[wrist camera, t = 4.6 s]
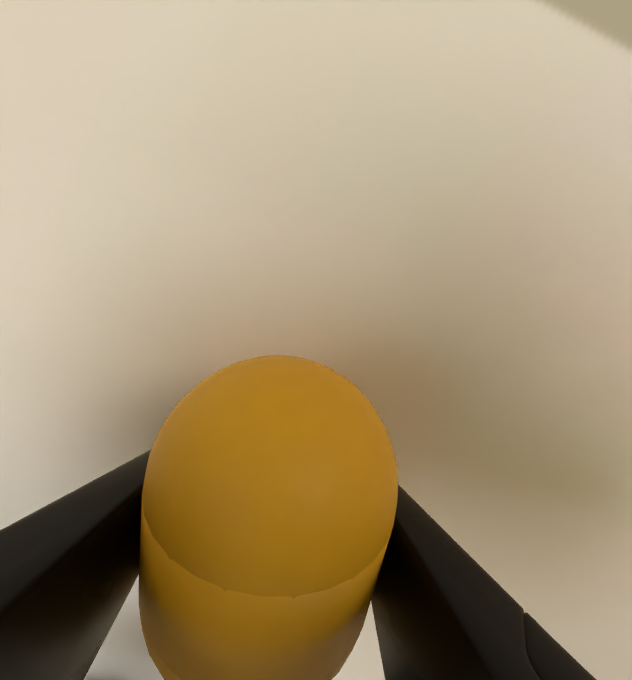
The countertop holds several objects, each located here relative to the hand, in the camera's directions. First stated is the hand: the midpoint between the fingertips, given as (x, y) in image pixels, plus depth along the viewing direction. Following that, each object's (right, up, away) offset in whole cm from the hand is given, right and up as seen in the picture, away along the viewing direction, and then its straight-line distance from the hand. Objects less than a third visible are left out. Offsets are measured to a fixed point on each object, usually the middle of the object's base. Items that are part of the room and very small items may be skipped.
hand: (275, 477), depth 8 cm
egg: (0, 0, +1) cm, 1 cm away
